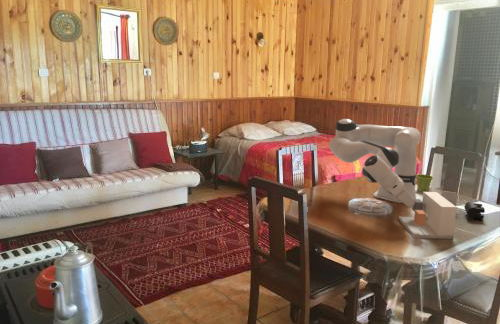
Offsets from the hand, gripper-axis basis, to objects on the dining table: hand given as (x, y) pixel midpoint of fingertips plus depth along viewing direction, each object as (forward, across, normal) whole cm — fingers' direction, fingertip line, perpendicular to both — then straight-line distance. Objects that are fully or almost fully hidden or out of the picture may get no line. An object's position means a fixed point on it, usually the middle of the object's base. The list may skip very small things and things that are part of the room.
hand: (412, 206), depth 190 cm
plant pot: (+23, -56, +12) cm, 61 cm away
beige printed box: (+22, -19, +11) cm, 32 cm away
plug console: (+8, +8, -3) cm, 12 cm away
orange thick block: (+1, +16, -2) cm, 16 cm away
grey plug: (+4, 0, 0) cm, 4 cm away
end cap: (+28, -10, +17) cm, 35 cm away
